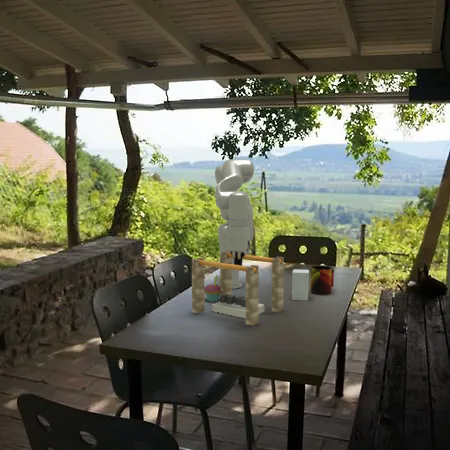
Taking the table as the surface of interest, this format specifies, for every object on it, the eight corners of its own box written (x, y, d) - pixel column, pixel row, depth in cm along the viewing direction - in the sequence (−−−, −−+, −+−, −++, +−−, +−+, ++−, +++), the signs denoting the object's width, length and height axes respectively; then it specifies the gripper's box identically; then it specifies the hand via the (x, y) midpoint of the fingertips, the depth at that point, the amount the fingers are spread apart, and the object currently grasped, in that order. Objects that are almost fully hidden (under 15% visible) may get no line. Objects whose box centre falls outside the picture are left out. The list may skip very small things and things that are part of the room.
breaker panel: (212, 311, 205) (211, 297, 204) (228, 304, 214) (228, 291, 214) (248, 319, 194) (248, 304, 194) (264, 311, 204) (264, 297, 203)
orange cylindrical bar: (221, 256, 217) (221, 252, 217) (224, 256, 219) (224, 251, 219) (280, 264, 201) (280, 259, 201) (282, 263, 202) (282, 258, 202)
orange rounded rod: (193, 264, 201) (193, 259, 201) (196, 263, 203) (196, 259, 202) (254, 273, 185) (254, 268, 184) (257, 272, 186) (257, 267, 186)
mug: (333, 288, 241) (334, 264, 239) (329, 296, 228) (330, 270, 226) (313, 287, 244) (314, 263, 242) (308, 294, 231) (309, 269, 229)
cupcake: (225, 298, 224) (225, 272, 222) (217, 303, 216) (217, 276, 215) (208, 296, 227) (208, 271, 226) (199, 301, 220) (199, 275, 218)
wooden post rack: (192, 312, 203) (191, 259, 200) (226, 299, 222) (226, 250, 220) (252, 326, 186) (252, 267, 183) (283, 310, 206) (283, 257, 203)
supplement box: (308, 300, 220) (308, 273, 218) (291, 299, 221) (291, 272, 220) (308, 296, 227) (309, 269, 226) (292, 295, 229) (292, 268, 227)
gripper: (217, 223, 201) (218, 267, 203) (248, 225, 192) (248, 271, 194) (228, 221, 207) (228, 264, 209) (258, 223, 198) (258, 268, 201)
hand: (238, 267), depth 202 cm, fingers closed
